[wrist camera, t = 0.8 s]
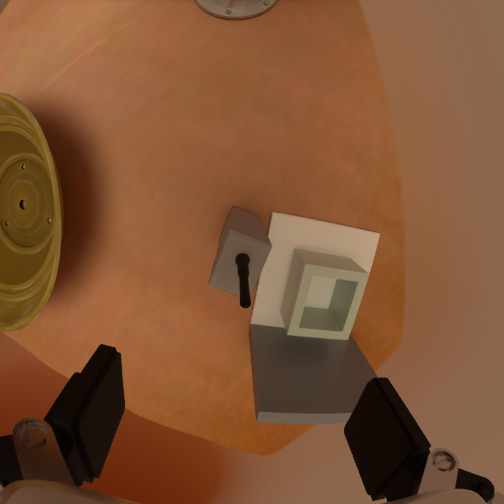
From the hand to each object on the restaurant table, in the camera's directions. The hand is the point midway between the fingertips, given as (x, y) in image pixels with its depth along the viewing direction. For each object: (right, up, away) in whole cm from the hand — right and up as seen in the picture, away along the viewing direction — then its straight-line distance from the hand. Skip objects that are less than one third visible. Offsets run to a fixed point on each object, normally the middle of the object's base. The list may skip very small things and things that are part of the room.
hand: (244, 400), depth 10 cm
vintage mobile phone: (-2, +9, +31) cm, 32 cm away
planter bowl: (-36, +13, +28) cm, 47 cm away
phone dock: (+9, +1, +33) cm, 34 cm away
